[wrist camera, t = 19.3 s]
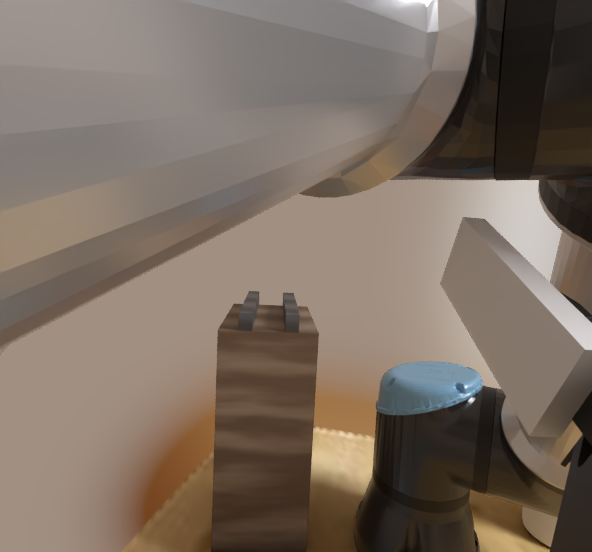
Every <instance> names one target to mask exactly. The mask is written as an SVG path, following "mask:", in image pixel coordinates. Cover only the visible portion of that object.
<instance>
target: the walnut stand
mask: <svg viewBox="0 0 592 552" xmlns="http://www.w3.org/2000/svg"><path fill="white" fill-rule="evenodd" d="M318 336H319V333H318V331H317V329H316V326H315V324H314V322H313V319H312V317H311V315H310V312H309V310H308V308H307V307H300V306H297V304H296V301H295V297H294V294H293V293H283V306H275V305H259V292H256V291H255V292H254V291H249V293H248V295H247V297H246V299H245V301H244V304H234V305H233V306H232V308H231V310H230V311H229V313H228V314H227V316H226V318H225V319H224V321H223V323H222V324H221V326H220V328H219V329H218V343H217V376H216V409H215V442H214V475H213V508H212V541H211V552H306V544H307V527H308V509H309V492H310V475H311V458H312V440H313V423H314V406H315V388H316V371H317V354H318Z"/></svg>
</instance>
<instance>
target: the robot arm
mask: <svg viewBox="0 0 592 552" xmlns="http://www.w3.org/2000/svg"><path fill="white" fill-rule="evenodd" d="M404 179H406V180H407V179H436V180H441V179H442V180H490V179H496V180H539V189H538V191H539V198H540V202H541V204H542V207H543V209H544V211H545V212H546V214H547V215H548V217H549V218H550V219H551V220H552V221H553V222H554V223H555V224H556V226H558V228H560V229H561V230H562V234H561V238H560V242H559V246H558V251H557V255H556V259H555V263H554V267H553V272H552V276H551V280H550V282H549V281H548V280H547V279H546V278H545V277H543V275H542V274H541V273H539V271H537V270H536V269H535V268H534V267H533V266H532V265H531V264H530V263H529V262H528V261H527V260H526V259H525V258H524V257H523V256H522V255H521V254H520V253H519V252H518V251H517V250H516V249H515V248H514V247H513V246H512V245H511V244H510V243H509V242H508V241H507V240H506V239H505V238H503V236H501V235H500V234H499V233H498V232H497V231H496V230H495V229H494V228H493V227H492V226H491V225H490V224H489V223H488V222H487V221H486V220H485V219H479V218H467V217H463V218H462V222H461V224H460V227H459V230H458V233H457V236H456V239H455V242H454V245H453V248H452V251H451V254H450V257H449V259H448V262H447V265H446V268H445V271H444V274H443V277H442V280H441V283H440V284H441V286H442V287H443V289H444V291H445V293H446V294H447V296H448V298H449V299H450V301H451V303H452V304H453V306H454V308H455V310H456V312H457V313H458V315H459V317H460V318H461V320H462V322H463V323H464V325H465V327H466V328H467V330H468V332H469V334H470V336H471V337H472V339H473V341H474V342H475V344H476V346H477V348H478V349H479V351H480V353H481V354H482V356H483V358H484V359H485V361H486V363H487V365H488V366H489V368H490V370H491V371H492V373H493V375H494V377H495V378H496V380H497V382H498V383H499V385H500V387H501V389H497V388H496V389H495V388H491V387H486V386H482V384H483V381H482V379H481V376H480V375H479V373H478V372H477V371H475V370H473V369H471V368H469V367H463V366H462V365H459V364H454V363H447V362H430V361H429V362H412V363H406V364H401V365H398V366H395V367H393V368H391V369H390V370H388V371H387V372H386V373H385V374H384V375H383V377H382V379H381V383H380V389H379V396H378V401H377V402H376V409H377V416H376V430H375V444H374V458H373V473H372V478H371V480H370V482H369V485H368V488H367V490H366V493H365V496H364V498H363V500H362V501H361V502H360V504H359V506H358V509H357V512H356V517H355V530H354V536H355V542H356V545H357V548H358V550H359V552H480V548H479V542H478V538H477V535H476V532H475V530H474V523H473V517H472V513H471V509H470V504H469V493H470V490H474V491H477V492H480V493H483V494H487V495H490V496H493V497H496V498H499V499H502V500H505V501H508V502H511V503H514V504H517V505H520V506H523V507H527V508H530V509H533V510H536V511H539V512H542V513H545V514H548V515H551V516H554V517H557V518H558V519H557V523H556V527H555V531H554V535H553V540H552V544H551V548H550V552H592V0H0V355H1V354H2V353H3V352H4V350H5V349H6V348H7V347H8V346H9V345H10V344H11V343H13V342H15V341H17V340H19V339H21V338H23V337H25V336H27V335H29V334H30V333H32V332H34V331H36V330H38V329H40V328H42V327H44V326H46V325H48V324H50V323H52V322H53V321H55V320H57V319H59V318H61V317H63V316H65V315H67V314H69V313H70V312H73V311H75V310H76V309H78V308H80V307H82V306H84V305H86V304H88V303H90V302H92V301H94V300H96V299H97V298H99V297H101V296H103V295H105V294H107V293H109V292H111V291H113V290H115V289H117V288H118V287H120V286H122V285H124V284H126V283H128V282H130V281H132V280H134V279H136V278H138V277H140V276H142V275H143V274H145V273H147V272H149V271H151V270H153V269H155V268H157V267H158V266H160V265H163V264H164V263H166V262H168V261H170V260H172V259H174V258H176V257H178V256H180V255H182V254H184V253H186V252H187V251H189V250H191V249H193V248H195V247H197V246H199V245H201V244H203V243H205V242H207V241H209V240H210V239H212V238H214V237H216V236H218V235H220V234H222V233H224V232H226V231H228V230H230V229H231V228H233V227H235V226H237V225H239V224H241V223H243V222H245V221H247V220H248V219H251V218H252V217H254V216H256V215H258V214H260V213H262V212H264V211H266V210H268V209H270V208H272V207H273V206H275V205H277V204H279V203H281V202H283V201H285V200H287V199H289V198H291V197H292V196H295V195H297V194H302V195H307V196H314V197H341V196H348V195H353V194H356V193H359V192H362V191H366V190H369V189H371V188H373V187H375V186H378V185H380V184H382V183H384V182H386V181H387V180H404Z"/></svg>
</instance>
